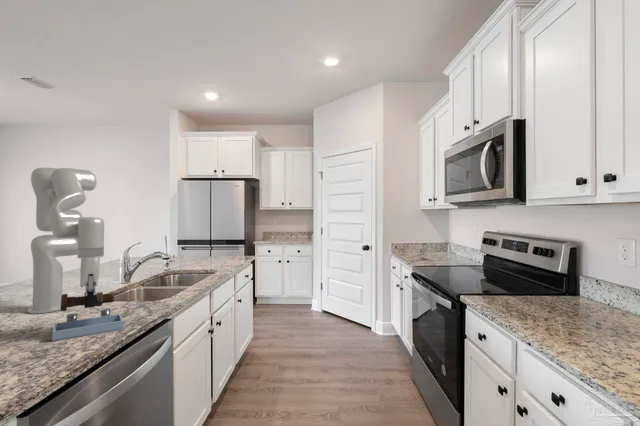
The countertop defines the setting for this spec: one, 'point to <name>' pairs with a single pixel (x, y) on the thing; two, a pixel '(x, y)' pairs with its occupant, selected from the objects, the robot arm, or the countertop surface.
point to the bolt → (77, 301)
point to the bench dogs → (74, 316)
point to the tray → (87, 327)
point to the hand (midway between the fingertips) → (90, 304)
